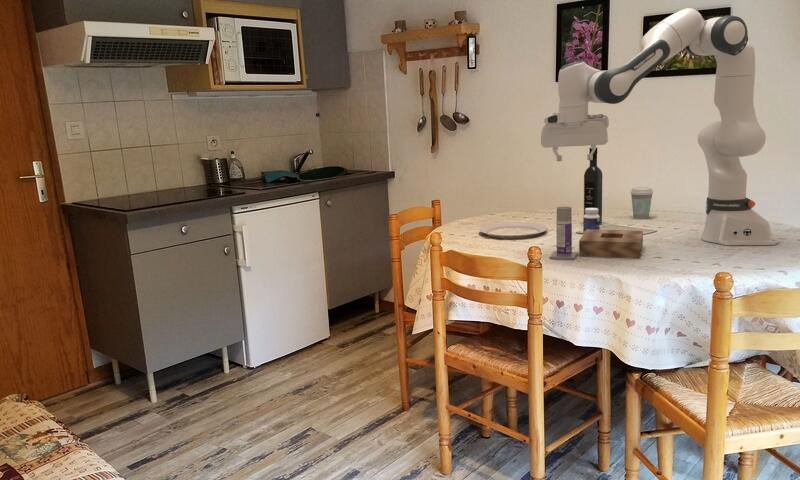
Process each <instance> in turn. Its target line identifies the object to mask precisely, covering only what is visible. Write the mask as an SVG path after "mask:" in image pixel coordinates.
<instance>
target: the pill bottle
mask: <svg viewBox="0 0 800 480" xmlns="http://www.w3.org/2000/svg"><path fill="white" fill-rule="evenodd" d="M585 213H586V214H585V215H584V214H583V217H582V219H583V221H582V222H583V223H582V225H583V228H582V235H583V234H584V233H585V231H586V230H587V229H595V230H601V229H600V228H601V224H600V216H599V215H598V208H585Z"/></svg>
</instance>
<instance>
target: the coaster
mask: <svg viewBox="0 0 800 480" xmlns="http://www.w3.org/2000/svg"><path fill="white" fill-rule="evenodd" d="M577 256H579V251H578V252H577V251H572V254H571V255H569V256H560V255H557V250H553V252H552V253H551V254H550V256H549V260H560V261H575V259H576V258H577Z"/></svg>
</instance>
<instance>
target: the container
mask: <svg viewBox="0 0 800 480" xmlns="http://www.w3.org/2000/svg"><path fill="white" fill-rule="evenodd" d="M572 215H573V214H572V207H571V206H558V207H556V231H555V232H556V251H557V255H560V256H569V255H571V254H572V252H573V250H572V249H573V245H572V244H573V237H572V236H573V233H572V232H573V227H572V226H573V223H572V221H573V220H572V218H573V217H572Z"/></svg>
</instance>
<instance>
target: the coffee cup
mask: <svg viewBox="0 0 800 480" xmlns="http://www.w3.org/2000/svg"><path fill="white" fill-rule="evenodd" d="M653 194H654V191H653V188H652V187H649V186H648V187H645V186H642V187H640V186H639V187H637V186H636V187H632V188H631V191H630V195H631V196H630V197H631V206H632V207H631V208H632V217H633V218H634V219H636V220H646V219H649V218H650V211H651V207H652V206H651V205H652V199H653V198H652V197H653Z"/></svg>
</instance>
